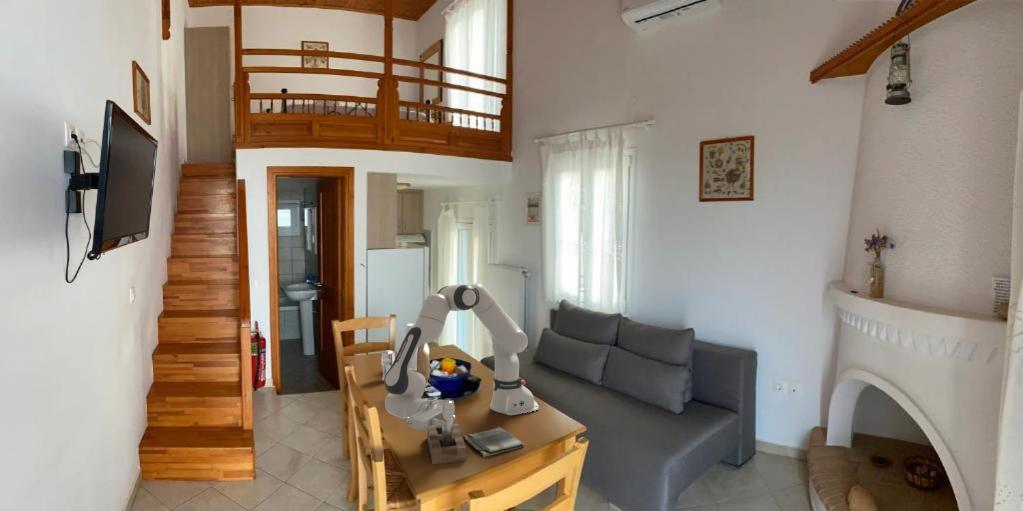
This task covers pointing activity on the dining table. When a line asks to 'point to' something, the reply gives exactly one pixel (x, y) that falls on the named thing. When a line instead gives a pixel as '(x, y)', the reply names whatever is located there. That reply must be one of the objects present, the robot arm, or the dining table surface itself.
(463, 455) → the bore block
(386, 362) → the beer glass
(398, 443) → the dining table surface
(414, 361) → the decorative vase
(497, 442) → the dish towel
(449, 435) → the pin
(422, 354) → the bird sculpture
